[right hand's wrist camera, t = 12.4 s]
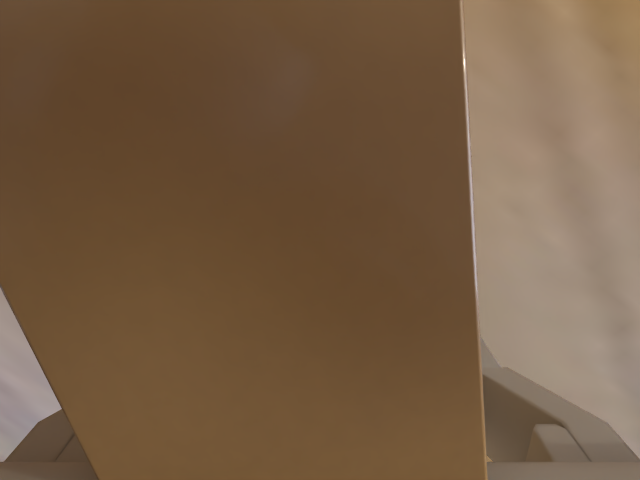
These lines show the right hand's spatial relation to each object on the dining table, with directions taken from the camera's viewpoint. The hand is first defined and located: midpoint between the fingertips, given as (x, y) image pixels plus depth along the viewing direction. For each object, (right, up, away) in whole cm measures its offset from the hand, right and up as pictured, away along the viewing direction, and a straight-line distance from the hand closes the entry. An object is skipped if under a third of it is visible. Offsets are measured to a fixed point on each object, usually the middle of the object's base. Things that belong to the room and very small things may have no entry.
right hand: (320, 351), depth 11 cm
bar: (-2, +11, 0) cm, 11 cm away
